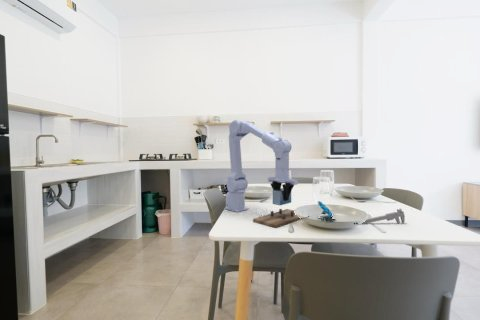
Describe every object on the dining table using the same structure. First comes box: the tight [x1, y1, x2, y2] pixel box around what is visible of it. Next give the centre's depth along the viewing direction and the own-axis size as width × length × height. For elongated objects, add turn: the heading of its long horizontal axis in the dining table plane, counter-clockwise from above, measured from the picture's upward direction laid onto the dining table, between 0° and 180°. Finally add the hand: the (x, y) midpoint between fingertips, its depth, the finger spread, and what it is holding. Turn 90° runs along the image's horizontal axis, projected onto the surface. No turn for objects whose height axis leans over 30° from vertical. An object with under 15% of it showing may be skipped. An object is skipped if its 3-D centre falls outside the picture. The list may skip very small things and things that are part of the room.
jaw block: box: [272, 187, 292, 206], centre depth 113 cm, size 4×8×6 cm, turn 134°
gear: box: [317, 200, 333, 218], centre depth 114 cm, size 11×6×10 cm
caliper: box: [361, 208, 406, 225], centre depth 106 cm, size 20×1×6 cm, turn 92°
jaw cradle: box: [252, 208, 301, 229], centre depth 114 cm, size 12×24×3 cm, turn 134°
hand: (282, 199), depth 113 cm, fingers closed on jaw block, 4 cm apart
